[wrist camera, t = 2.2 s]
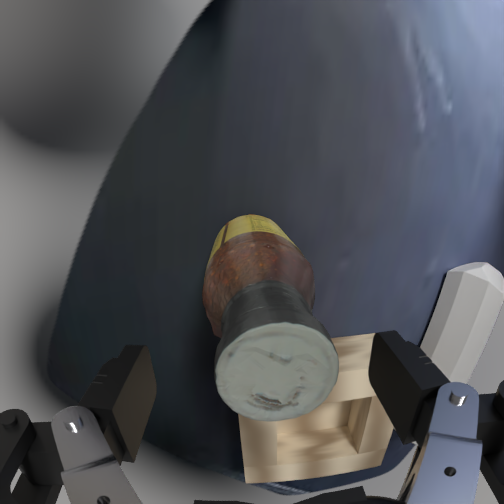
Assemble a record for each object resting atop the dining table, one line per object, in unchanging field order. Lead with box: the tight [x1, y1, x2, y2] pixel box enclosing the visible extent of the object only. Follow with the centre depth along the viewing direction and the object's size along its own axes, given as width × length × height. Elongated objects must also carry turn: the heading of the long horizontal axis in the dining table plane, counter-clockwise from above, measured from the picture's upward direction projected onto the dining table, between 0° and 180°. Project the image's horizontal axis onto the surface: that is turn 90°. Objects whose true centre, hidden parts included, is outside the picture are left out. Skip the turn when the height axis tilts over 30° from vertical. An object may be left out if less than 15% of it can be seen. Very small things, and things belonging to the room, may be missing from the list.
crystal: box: [394, 262, 504, 445], centre depth 30 cm, size 7×7×24 cm
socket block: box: [238, 333, 394, 483], centre depth 30 cm, size 16×16×6 cm
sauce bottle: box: [202, 214, 339, 421], centre depth 19 cm, size 7×6×20 cm
